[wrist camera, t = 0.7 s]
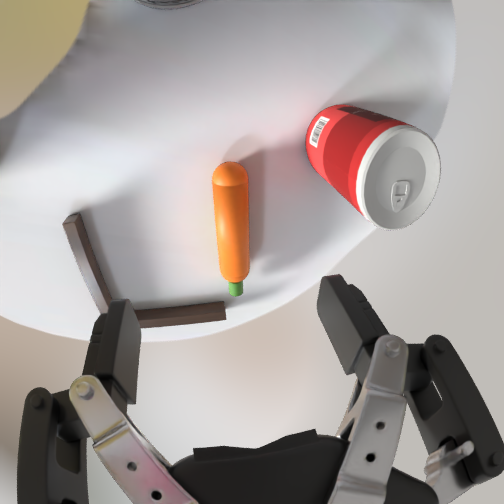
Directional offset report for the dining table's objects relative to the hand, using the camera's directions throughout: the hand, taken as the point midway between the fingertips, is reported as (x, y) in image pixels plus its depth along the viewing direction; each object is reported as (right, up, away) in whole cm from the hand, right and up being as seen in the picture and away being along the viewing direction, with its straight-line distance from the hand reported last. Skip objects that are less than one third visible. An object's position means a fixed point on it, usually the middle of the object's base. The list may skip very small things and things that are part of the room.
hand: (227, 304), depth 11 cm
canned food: (+10, +13, +14) cm, 22 cm away
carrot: (-1, +5, +17) cm, 18 cm away
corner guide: (-10, 0, +19) cm, 22 cm away
